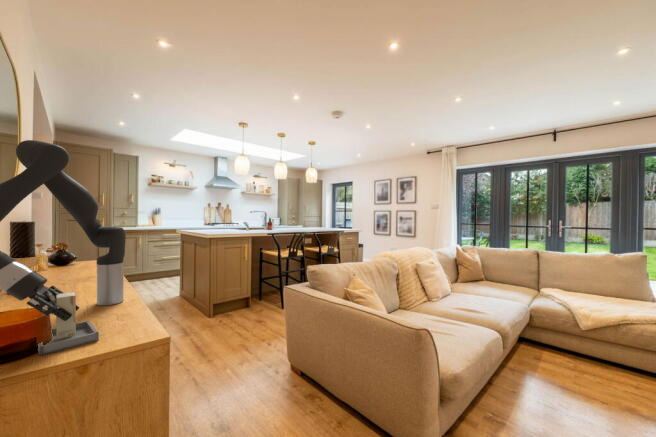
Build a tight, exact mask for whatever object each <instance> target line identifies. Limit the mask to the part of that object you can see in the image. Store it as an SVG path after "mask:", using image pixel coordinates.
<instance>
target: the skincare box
mask: <svg viewBox="0 0 656 437" xmlns="http://www.w3.org/2000/svg"><path fill="white" fill-rule="evenodd" d="M76 295H77V293H76V292H75V291H72V292H64V293H63V294H58V295H56V304H58V305H59V306H60V307H62V308H63V309H65V310H66V311H68V312H70V313H71V314H72V316H71V317H70V318H69V319H68V320H67V321H64V320H62V319H60V318H59V317H57V316H56V315H55V318H56V320H55V328H56V339H60V338H64V337H69V336H74V335H76V323H77V320H76V319H77V318H76V317H77V315H76V314H77V311H76V305H77V304H76V303H77V300H76Z"/></svg>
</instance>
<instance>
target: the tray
mask: <svg viewBox="0 0 656 437" xmlns="http://www.w3.org/2000/svg"><path fill="white" fill-rule="evenodd" d="M50 329H51V330H52V334H53V338H52V340H51V341H50V342H49V343H47V344H46V345H43V342H41V343H39V344H38V349H37V352H38V355H39V357H42V356H46V355H49V354H54V353H57V352H60V351H61V352H62V351H65V350H67V349H71V348H76V347H80V346H85V345H87V344H91V343H94V342H97V341H99V337H100V336H99V331H98V330H97V328H96V327H95V326H94V325H93V324H92V323H91V321H90V320H89V319H88V320H83V321H80V322H76V335H74V336H69V337H64V338H60V339H56V327H53V328H50Z"/></svg>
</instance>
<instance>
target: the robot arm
mask: <svg viewBox="0 0 656 437" xmlns="http://www.w3.org/2000/svg"><path fill="white" fill-rule="evenodd" d="M15 154H16V157H17V159H18V160H19V162H20V163H21V164H22V165H23V166H24V167H25V168H26V169H24V170H23V171H21V172H19V174H17V175H15V176H14V177H12V178H9V179H8V180H5V181H3V182H1V183H0V223H1V222H2V221H3V220H4V219H5V218H6V217H7V216H8V215H9V214H10V213H11V212H12V211H13V210H14V209H15V208H16V207H17V206H18V205H19V204H20V203H21V202H22V201H23V200H24V199H26V198H27V197H28V196H29V195H30V194H31V193H34V191H36V190H37V189H39V188H40V187H41V186H43V185H44V186H45V187H46V189H47V190H48V191H49V192H50V193H51V194H52V195H53V196H54V197H55V199H56V200H58V202H59V203H60V204H61V206H62V207H63V208H64V209H65V210H66V212H67V213H68V214H70V215H71V216H72V218H73V219H74V220H75V222H76V223H77V224H78V225H79V226H80V227H81V228H82V230H83V232H84V233H85V235H86V236H87V237H88V239H89V241H90V243H92V244H93V246H95V247H97V248H101V249H103V248H104V249H105V248H107V249H108V248H109V249H108V252H107V253H105V254H104V255H101V256H98V257H97V258H96V305H97V306H111V305H116V304H120V303H122V302H123V301H124V292H125V291H124V290H125V289H124V288H125V287H124V286H125V285H124V282H125V281H124V277H125V276H124V271H125V270H124V258H125V253H126V252H125V251H126V239H127V238H126V235H127V234H126V231H125V229H124V227H122V226H103V225H102V224H101V223H100V222H99V220H98V219H97V217H98V211H99V205H98V202H97V200H96V199H95V197H94V196H93V195H92V193H90V191H89V190H88V189H87V188H86V187H85V186H83V185H82V184H81V183H79V182H78V181H76V180H75V179H74V178H72V177H71V176H70V175H68V174H66V172H64V171H63V170H64V169H65V168H66V166H68V164H69V161H70V156H69V153H68V150H66V149H65V148H64V147H63V146H60V145H58V144H54V143H50V142H45V141H41V140H34V139H33V140H32V139H27V140H23V141H22V140H21V141H20V142H18V144H17V145H16V148H15ZM47 282H48V279H47V278H46V277H44V276H43V275H42V274H40V273H38V272H37V271H35V270H34V269H32V268H31V267H29V266H27V265H25V263H21V262H19V261H18V260H16V259H15V258H13V257H12V256H10V255H8V254H7V253H6V252H4V251H2V250H0V290H2V291H3V292H5V293H6V294H8V295H10V296H11V297H12V298H15V299H16V300H18V301H24V300H26V299H27V298H29V301H27V302H26V305H27V306H30V307H31V308H33V309H34V310H37V311H39V312H40V313H42V314H43V315H46V316H48V315H54V316H55V317H56V316H57V317H59V318H60V319H62V320H64V321H67V320H68V319H69V318H70V317H71V316H72V314H71V313H70V312H68V311H66V310H65V309H63V308H62V307H60V306H59V305H58V304H56V295H58V294H63V293H65V292H63V291H62V290H60V289H59V288H58V287H56V286H55V285H51V286H50V287H47V286H45V284H46V283H47ZM79 309H80V306H79V305H77V304H76V312H77V311H78V310H79Z"/></svg>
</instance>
